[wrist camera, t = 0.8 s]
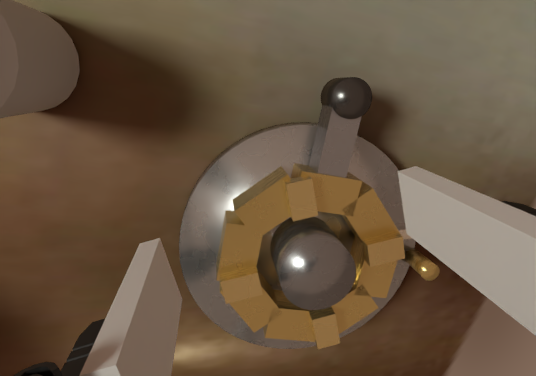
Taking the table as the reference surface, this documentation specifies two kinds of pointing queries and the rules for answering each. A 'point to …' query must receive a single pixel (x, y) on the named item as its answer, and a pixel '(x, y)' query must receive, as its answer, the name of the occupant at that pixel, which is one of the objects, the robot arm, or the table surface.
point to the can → (34, 61)
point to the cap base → (287, 231)
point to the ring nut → (305, 206)
